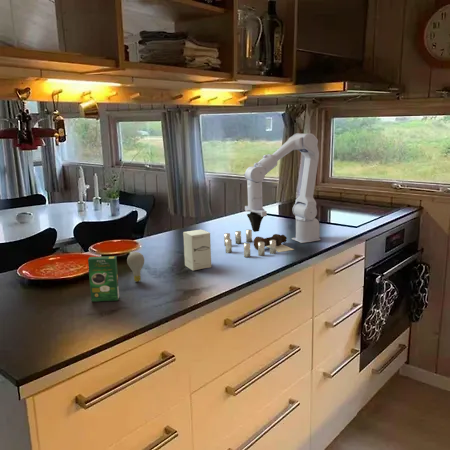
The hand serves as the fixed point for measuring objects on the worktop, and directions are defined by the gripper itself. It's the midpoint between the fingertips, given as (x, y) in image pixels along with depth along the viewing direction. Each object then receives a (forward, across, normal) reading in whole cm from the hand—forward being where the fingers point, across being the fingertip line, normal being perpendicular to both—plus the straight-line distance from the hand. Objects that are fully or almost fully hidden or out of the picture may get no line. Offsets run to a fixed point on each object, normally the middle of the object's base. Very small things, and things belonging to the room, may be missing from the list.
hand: (255, 231), depth 182 cm
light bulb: (+7, +16, -52) cm, 55 cm away
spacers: (+7, 0, -5) cm, 9 cm away
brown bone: (+7, +2, +6) cm, 9 cm away
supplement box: (+7, +11, -29) cm, 32 cm away
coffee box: (+7, +27, -64) cm, 70 cm away
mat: (+7, 0, +8) cm, 10 cm away
